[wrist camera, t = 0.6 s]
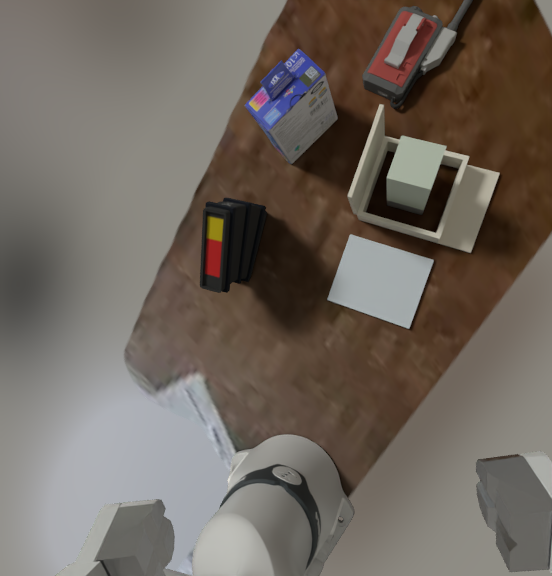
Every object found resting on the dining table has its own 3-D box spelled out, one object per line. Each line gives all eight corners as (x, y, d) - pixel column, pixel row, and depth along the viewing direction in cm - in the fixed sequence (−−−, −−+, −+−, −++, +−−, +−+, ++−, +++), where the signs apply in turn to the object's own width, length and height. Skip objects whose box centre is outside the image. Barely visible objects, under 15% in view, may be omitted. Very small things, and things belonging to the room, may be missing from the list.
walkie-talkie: (409, 119, 61) (485, -10, 59) (411, 105, 57) (492, -35, 55) (355, 95, 63) (427, -30, 62) (353, 79, 59) (430, -56, 57)
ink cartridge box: (315, 93, 64) (295, 33, 50) (340, 117, 63) (326, 62, 49) (268, 141, 66) (235, 95, 52) (291, 165, 65) (264, 125, 51)
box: (422, 215, 60) (430, 189, 47) (386, 205, 61) (386, 177, 48) (434, 181, 59) (446, 146, 47) (398, 171, 61) (401, 135, 48)
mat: (409, 328, 59) (409, 328, 59) (327, 299, 62) (327, 299, 62) (433, 260, 59) (434, 260, 58) (350, 234, 62) (350, 234, 61)
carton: (470, 253, 58) (492, 237, 46) (355, 218, 62) (347, 196, 50) (499, 173, 57) (528, 137, 45) (381, 144, 61) (379, 104, 49)
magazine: (272, 189, 64) (229, 210, 51) (263, 270, 69) (222, 308, 56) (249, 184, 64) (200, 204, 51) (242, 264, 70) (196, 301, 57)
